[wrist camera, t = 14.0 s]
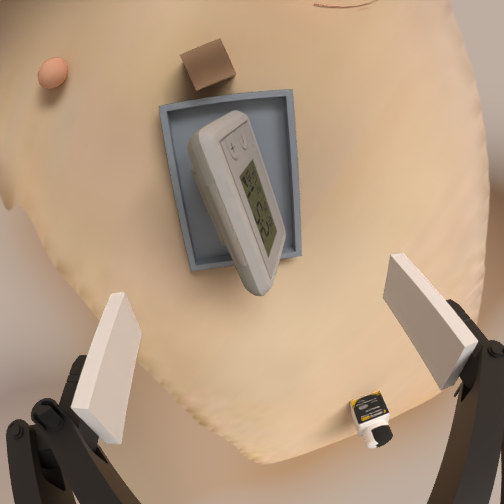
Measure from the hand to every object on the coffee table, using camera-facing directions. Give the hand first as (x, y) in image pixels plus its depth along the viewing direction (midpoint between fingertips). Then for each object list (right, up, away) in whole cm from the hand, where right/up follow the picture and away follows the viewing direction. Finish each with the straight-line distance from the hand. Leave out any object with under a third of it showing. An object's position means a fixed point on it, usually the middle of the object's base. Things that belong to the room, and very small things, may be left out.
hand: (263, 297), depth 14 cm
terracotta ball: (-22, +22, +10) cm, 33 cm away
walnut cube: (-5, +21, +13) cm, 25 cm away
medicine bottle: (+25, -32, +47) cm, 62 cm away
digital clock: (-2, +10, +19) cm, 22 cm away
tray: (-2, +10, +19) cm, 22 cm away
